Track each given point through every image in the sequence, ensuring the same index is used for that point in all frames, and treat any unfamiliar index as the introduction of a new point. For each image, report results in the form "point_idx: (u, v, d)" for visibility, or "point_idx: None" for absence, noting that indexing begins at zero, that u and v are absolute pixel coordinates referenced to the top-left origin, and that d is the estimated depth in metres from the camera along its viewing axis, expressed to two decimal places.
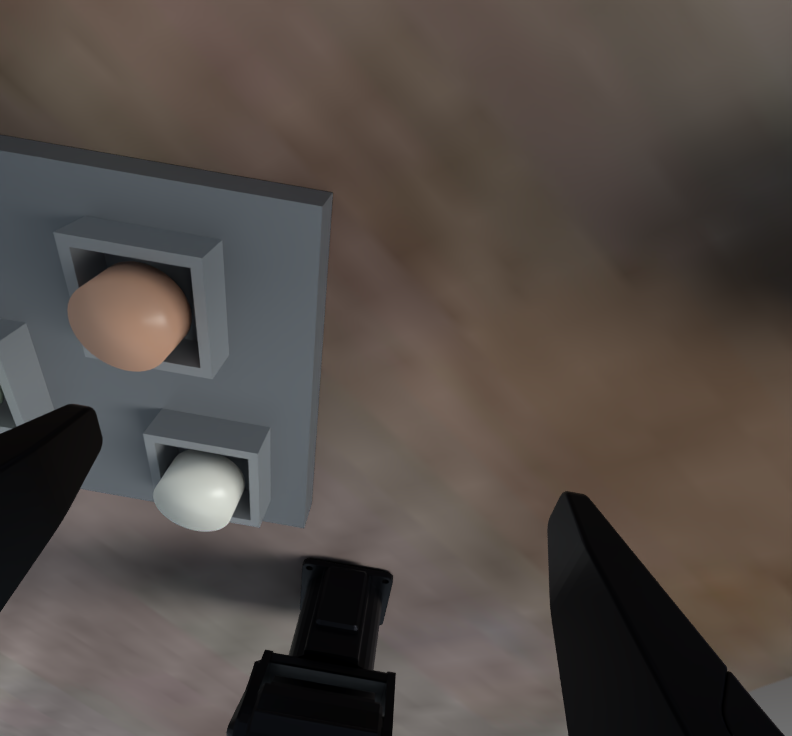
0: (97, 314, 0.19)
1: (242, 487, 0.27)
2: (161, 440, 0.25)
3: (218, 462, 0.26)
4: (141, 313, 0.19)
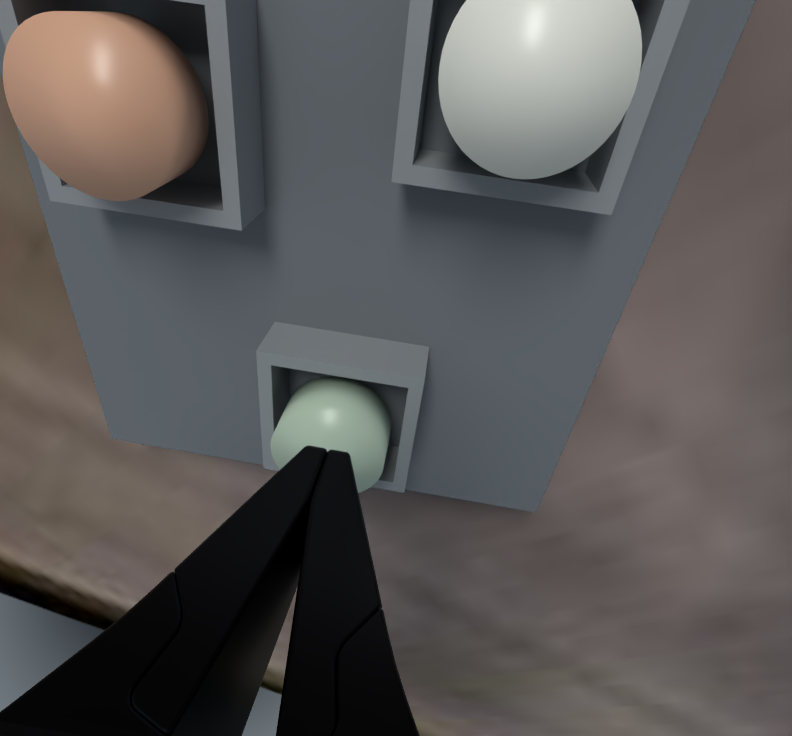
0: (75, 145, 0.12)
1: None
2: (405, 146, 0.13)
3: None
4: (38, 59, 0.11)
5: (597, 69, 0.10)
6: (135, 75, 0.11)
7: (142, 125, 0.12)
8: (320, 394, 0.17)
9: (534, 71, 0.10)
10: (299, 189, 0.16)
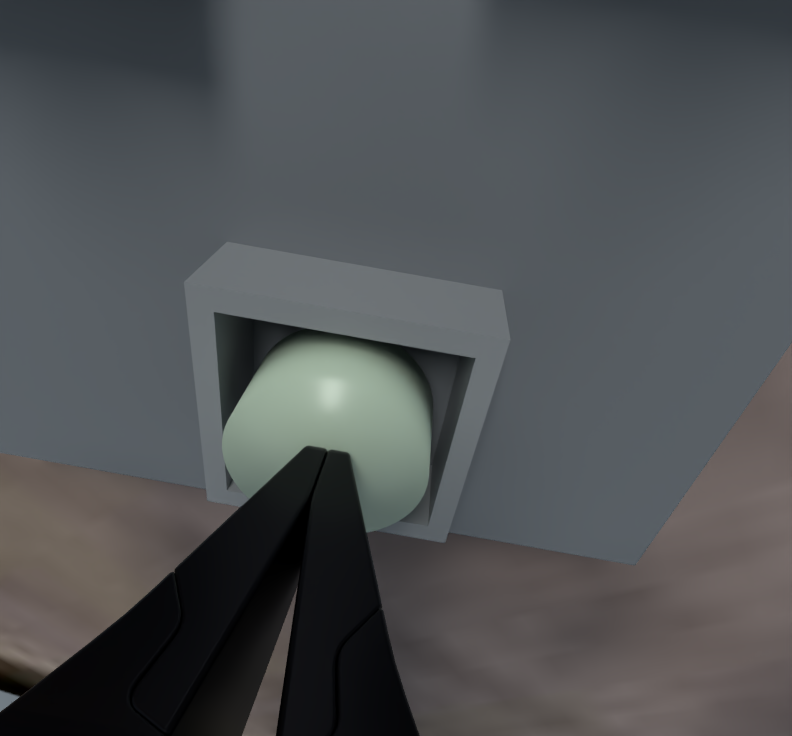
0: None
1: None
2: None
3: None
4: None
5: None
6: None
7: None
8: (315, 352, 0.09)
9: None
10: None
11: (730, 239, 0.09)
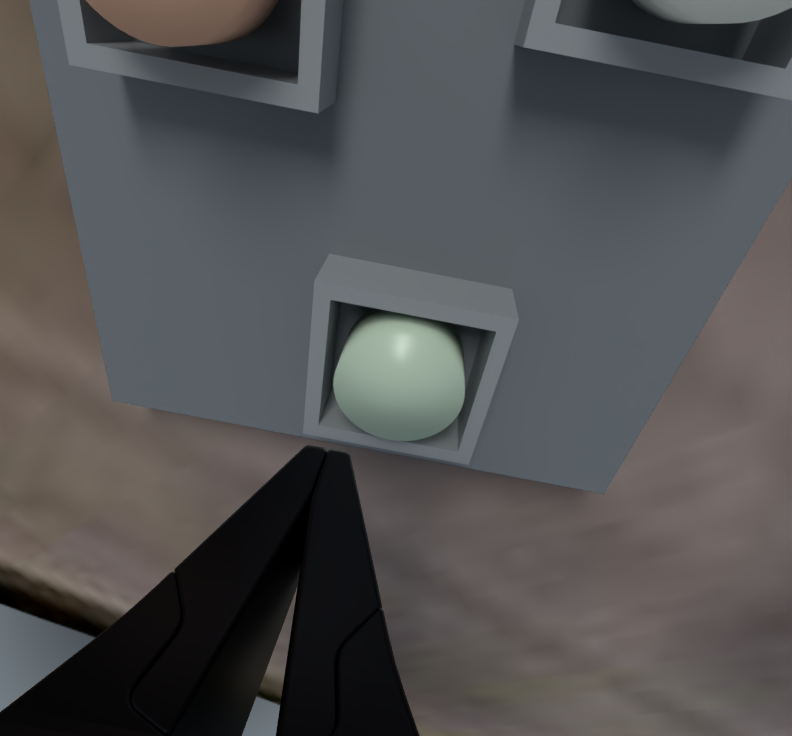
0: None
1: None
2: None
3: None
4: None
5: None
6: None
7: None
8: (394, 318, 0.15)
9: None
10: (382, 76, 0.13)
11: (659, 258, 0.15)
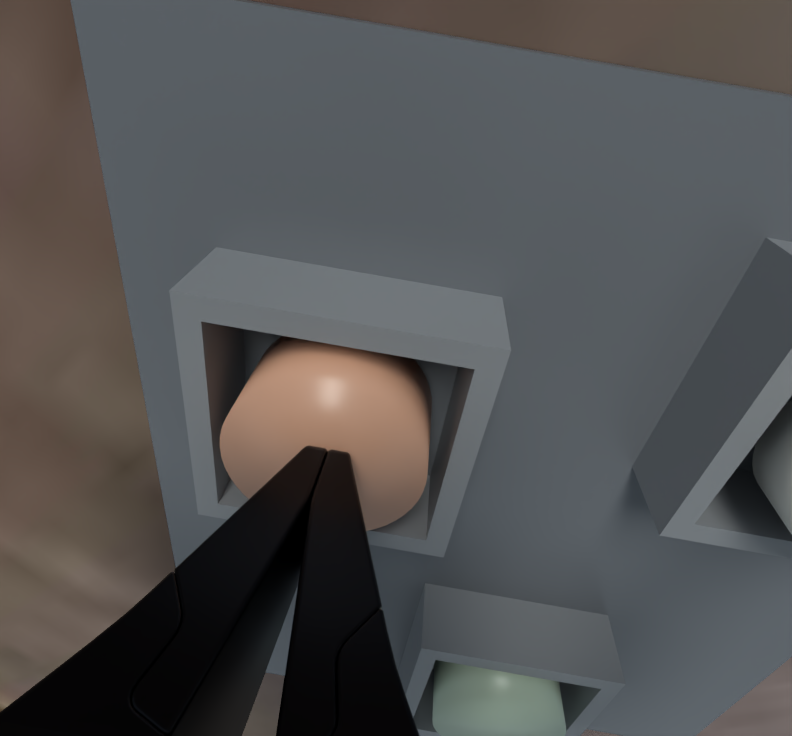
0: None
1: None
2: (692, 509, 0.10)
3: None
4: (275, 416, 0.09)
5: None
6: (398, 439, 0.09)
7: (388, 478, 0.10)
8: None
9: None
10: (495, 478, 0.13)
11: (761, 605, 0.15)
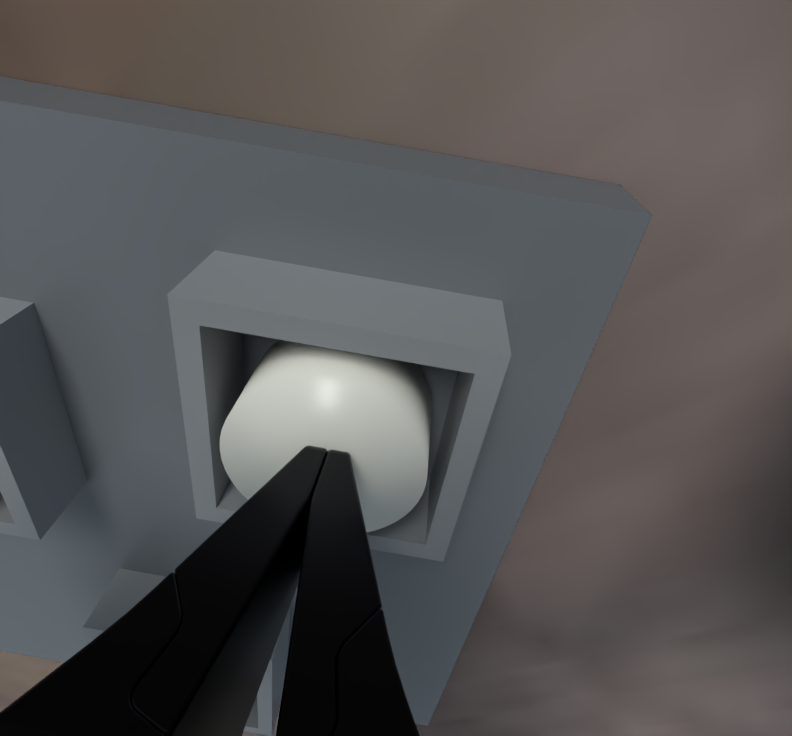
0: None
1: None
2: (204, 494, 0.11)
3: None
4: None
5: (383, 466, 0.09)
6: None
7: None
8: None
9: None
10: (122, 469, 0.14)
11: (412, 588, 0.16)
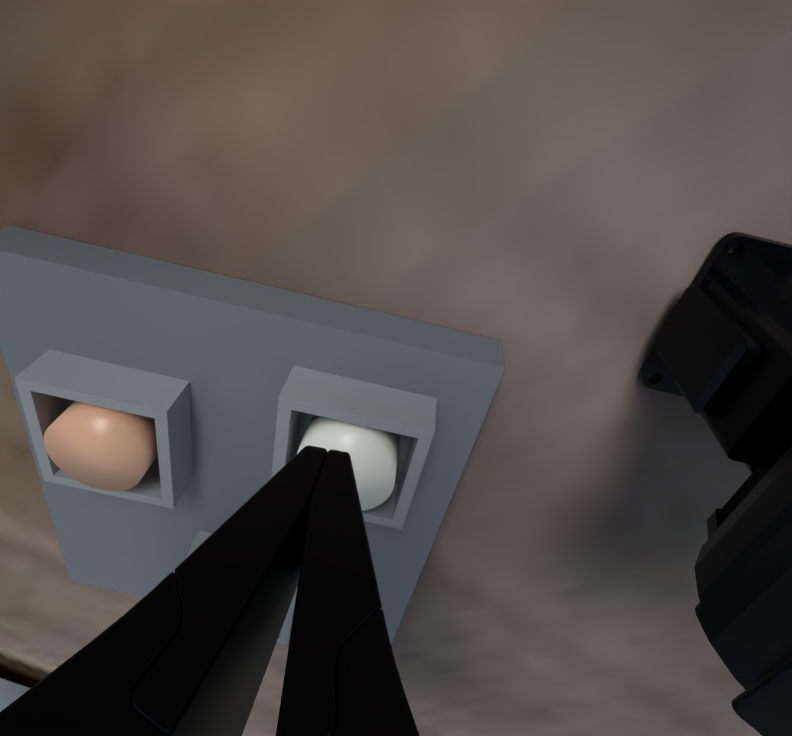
0: (83, 466, 0.21)
1: None
2: None
3: (309, 425, 0.20)
4: (66, 433, 0.20)
5: (373, 478, 0.19)
6: (124, 446, 0.20)
7: (125, 464, 0.20)
8: None
9: None
10: (216, 469, 0.24)
11: (384, 549, 0.26)
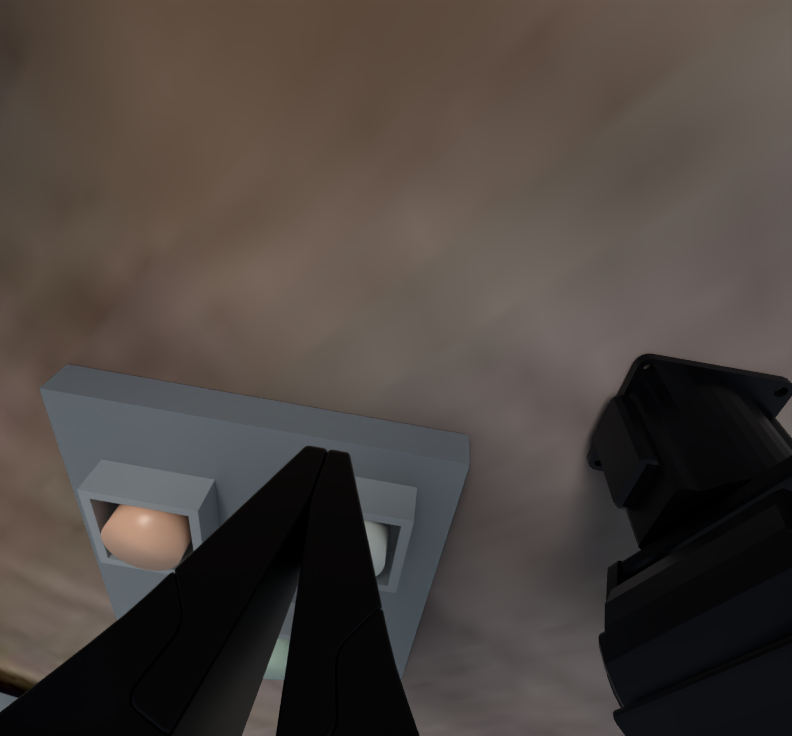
0: (133, 553, 0.25)
1: None
2: None
3: None
4: (119, 530, 0.24)
5: None
6: (165, 538, 0.24)
7: (166, 551, 0.25)
8: None
9: None
10: None
11: (386, 602, 0.30)
